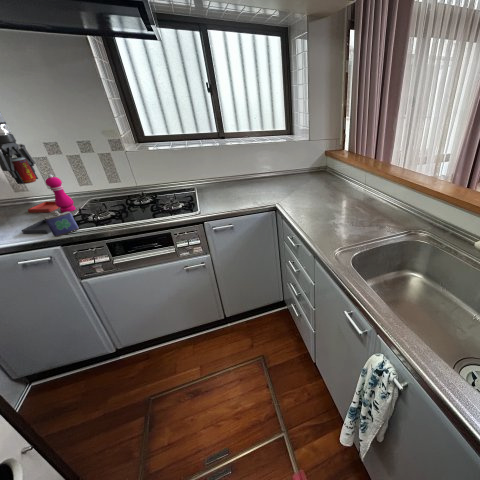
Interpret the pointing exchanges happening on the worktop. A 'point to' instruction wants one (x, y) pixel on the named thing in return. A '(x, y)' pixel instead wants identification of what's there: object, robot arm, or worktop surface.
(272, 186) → the worktop surface
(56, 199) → the pepper mill
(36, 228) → the charcoal tray
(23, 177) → the soda can
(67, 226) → the flask
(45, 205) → the red tray
